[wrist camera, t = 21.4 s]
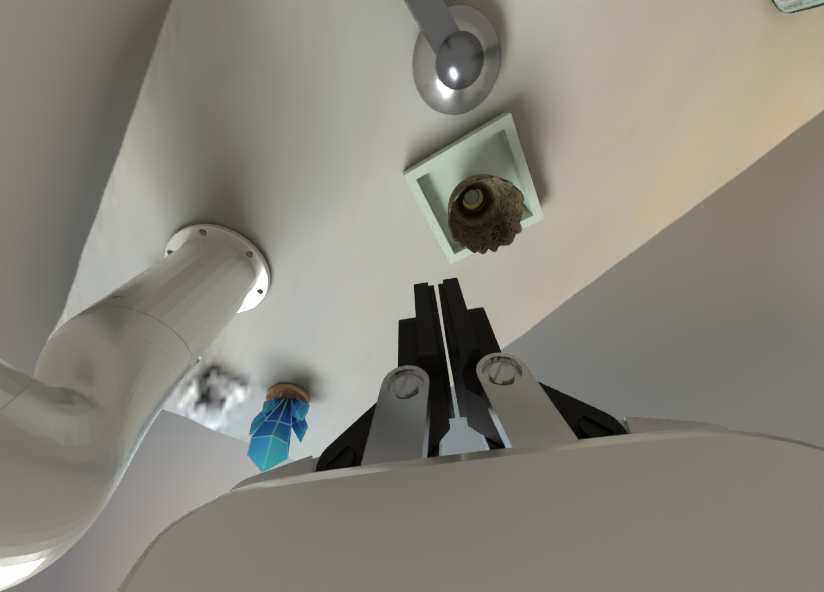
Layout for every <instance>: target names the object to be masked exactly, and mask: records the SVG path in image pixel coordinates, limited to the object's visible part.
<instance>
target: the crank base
mask: <svg viewBox="0 0 824 592" xmlns="http://www.w3.org/2000/svg"><path fill="white" fill-rule="evenodd" d="M448 9H449V10H450V12H451V14H452V16H453V18H454V20H455V22H456V24H457V26H458V27H459V29H460V31H468V32H470V33H472V34H474V35H475V36H476V37H477V38H478V39H479V41H480V43H481V45H482V48H483V52H484V63H483V68H482V71H481V73H480V75H479V77H478V79H477V80H476V81H475V82H474V83H473V84H472V85H471V86H469V87H467V88H465V89H461V90H451V89H448V88H446V87H445V86H444V85H443V84H442V83H441V82H440V80H439V79H438V77H437V74H436V69H435V60H436V55H435V53H434V51H433V50H432V48H431V46H430V45H429V43H428V41H427V39H426V38H425V36H424V34H423V33H422V31H421V33H420V35H419V37H418V39H417V42H416V46H415V49H414V54H413V63H412V69H413V78H414V82H415V85H416V88H417V91H418V92H419V94H420V96H421V98H422V99H423V100H424V101H425V103H426V104H427V105H429V106H430V107H431V108H432V109H434V110H436V111H438V112H441V113H444V114H450V115H458V114H463V113H466V112H469V111H470V110H472V109H474V108H476V107H477V106H478V105H479V104H481V103H482V102H483V101H484V100H485V98H486V97H487V96H488V94H489V93H490V92H491V90H492V88H493V86H494V84H495V82H496V79H497V76H498V73H499V68H500V59H501V55H500V44H499V40H498V36H497V33H496V31H495V29H494V27H493V25H492V23H491V22H490V20H489V19H488V18H487V17H486V16H485V15H484V14H483V13H482V12H480V11H479V10H477V9H475V8H473V7H470V6H466V5H454V6H449V7H448Z"/></svg>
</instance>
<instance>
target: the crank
mask: <svg viewBox="0 0 824 592" xmlns="http://www.w3.org/2000/svg"><path fill="white" fill-rule="evenodd" d="M404 2H405V3H406V5H407V7H408V8H409V10H410V12H411V14H412V15H413V17H414V19H415V21H416V22H417V24H418V26H419V27H420V29H421V31H422V33H423V34H424V36H425V38H426V39H427V41H428V43H429V45H430V46H431V48H432V50H433V51H434V53H435V55H436V60H435V69H436V74H437V77H438V79H439V80H440V82H441V83H442V84H443V85H444V86H445V87H446V88H448V89H451V90H461V89H465V88H467V87H469V86H471V85H472V84H473V83H474V82H475V81H476V80H477V79H478V77H479V75H480V73H481V71H482V68H483V63H484V52H483V48H482V45H481V43H480V41H479V39H478V38H477V37H476V36H475V35H474V34H472V33H470V32H468V31H460V29H459V27H458V26H457V24H456V22H455V20H454V18H453V16H452V14H451V12H450V10H449V9H448V7H447V5H446V3H445V1H444V0H404Z"/></svg>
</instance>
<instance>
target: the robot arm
mask: <svg viewBox="0 0 824 592" xmlns="http://www.w3.org/2000/svg"><path fill="white" fill-rule="evenodd" d="M270 281H271V277H270V270H269V267H268V265H267V262H266V260H265V259H264V257H263V255H262V254H261V252H260V251H259V250H258V249H257V248H256V246H255V245H253V244H252V243H251V242H250V241H249V240H248V239H246V238H245V237H243V236H242V235H240V234H239V233H237V232H235V231H233V230H231V229H229V228H226V227H222V226H219V225H214V224H195V225H191V226H188V227H186V228H183V229H181V230H180V231H178V232H177V233H175V234H174V235H173V236H172V237H171V238H170V239H169V241H168V243H167V245H166V247H165V253H164V258H163V259H162V260H160V261H159V262H157V263H156V264H154V265H153V266H151V267H150V268H148V269H147V270H145V271H143V272H142V273H140V274H139V275H137V276H136V277H134V278H133V279H131V280H130V281H128V282H127V283H125V284H124V285H122V286H120V287H119V288H117V289H116V290H114V291H113V292H111V293H110V294H108V295H107V296H105V297H104V298H102V299H101V300H99V301H97V302H96V303H94V304H93V305H91V306H90V307H88V308H87V309H85V310H84V311H82V312H81V313H79V314H78V315H76V316H75V317H73V318H72V319H70V320H68V321H67V322H66V323H65V324H63V325H62V326H61V327H60V328H59V329H58V330H57V331H56V332H55V333H54V334H53V335H52V336H51V338H50V339H49V341H48V342H47V344H46V345H45V347H44V349H43V351H42V353H41V355H40V357H39V359H38V362H37V365H36V369H35V372H34V376H33V377H30V376H28V375H26V374H25V373H23V372H21V371H20V370H18V369H16V368H15V367H13V366H12V365H10V364H8V363H7V362H5V361H3V360H2V359H0V591H2V590H4V589H7V588H10V587H12V586H14V585H17V584H19V583H21V582H23V581H25V580H27V579H28V578H30V577H32V576H34V575H35V574H37V573H38V572H40V571H42V570H43V569H45V568H46V567H47V566H49V565H50V564H52V563H53V562H54V561H56V560H57V559H58V558H59V557H60V556H62V555H63V554H64V553H65V552H66V551H68V549H70V548H71V547H72V546H73V545H74V544H75V543H76V542H77V541H78V540H79V539H80V538H81V536H83V534H84V533H85V532H86V531H87V530H88V529H89V528H90V526H91V525H92V524H93V523H94V521H95V520H96V519H97V517H98V516H99V514H100V513H101V512H102V510H103V509H104V507H105V506H106V505H107V503H108V501H109V500H110V498H111V497H112V495H113V493H114V491H115V490H116V488H117V486H118V485H119V483H120V481H121V479H122V477H123V475H124V473H125V471H126V469H127V467H128V465H129V463H130V462H131V460H132V457H133V456H134V454H135V452H136V450H137V448H138V446H139V444H140V443H141V441H142V439H143V437H144V436H145V434H146V433H147V431H148V429H149V428H150V426H151V424H152V423H153V421H154V420H155V418H156V417H157V415H158V414H159V413H160V411H161V410H162V408H163V407H164V406H165V404H166V403H167V402H168V400H169V399H170V398H171V396H172V395H173V393H174V392H175V391H176V390H177V388H178V387H179V386H180V384H181V383H182V382H183V381H184V379H185V378H186V377H187V375H188V374H189V373H190V372H191V370H192V369H193V368H194V367H195V365H196V364H197V363H198V362H199V360H200V359H201V358H202V356H203V355H204V354H205V353H206V351H207V350H208V349H209V348H210V346H211V345H212V344H213V342H214V341H215V340H216V339H217V337H218V336H219V335H220V334H221V332H222V331H223V330H224V328H225V327H226V326H227V325H228V323H229V322H230V321H231V320H232V318H233V317H234V316H235V314H236V313H237V312H242V311H247V310H249V309H251V308H254V307H255V306H256V305H258V304H259V303H260V302H261V301H262V300H263V299H264V297H265V296H266V294H267V293H268V290H269V287H270ZM438 288H439V295H440V302H441V309H442V316H443V323H444V330H445V337H446V343H447V349H448V354H449V360H450V365H451V371H452V376H453V381H454V387H455V392H456V398H457V403H458V408H459V414H460V417H465V416H466V418H467V423H468V426H470V427H471V428H473V429H474V430H476V431H477V432H479V433H480V434H481V436H482V440H483V443H484V446H485V448H486V451H479V452H471V453H463V454H454V455H447V456H442V443H441V439H442V438H443V437H444V436H445V434H446V433H447V432H448V431H449V429H450V424H449V418H455V414H454V408H453V401H452V394H451V387H450V381H449V374H448V367H447V361H446V354H445V348H444V342H443V336H442V330H441V325H440V319H439V313H438V307H437V302H436V296H435V290H434V285H431V286H428V282H426V283H420V284H414V295H415V310H416V317H415V318H409V319H402V320H399V333H398V368H396V369H394V370H392V371H391V372H389V373H388V374H387V376H386V377H385V378H384V380H383V382H382V385H381V389H380V393H379V396H378V400H377V402H376V403H375V404H374V405H373V406H372V407H371V408H370V409H369V410H368V411H367V412H365V413H364V414H363V415H362V416H361V417H360V418H359V419H358V420H357V421H356V422H354V423H353V424H352V425H351V426H350V427H349V428H348V429H347V430H346V431H345V432H344V433H342V434H341V435H340V436H339V437H338V438H337V439H336V440H335V441H334V442H333V443H332V444H330V445H329V446H328V447H327V448H326V449H325V451H324V452H323V453H322V454H321V456H320V457H317V458H313V457H312V456H309V457H306V458H303V459H300V460H298V461H295V462H292V463H289V464H287V465H283V466H281V467H278V468H275V469H272V470H269V471H267V472H264V473H261V474H258V475H255V476H252V477H250V478H248V479H245V480H243V481H241V482H240V483H238V484H237V485H236V486H235V487H234V488H233V489H232V490H230V491H229V492H227V493H224V494H222V495H219V496H217V497H215V498H213V499H211V500H209V501H207V502H205V503H203V504H201V505H199V506H197V507H195V508H194V509H192V510H191V511H189V512H187V513H186V514H184V515H183V516H181V517H180V518H178V519H177V520H175V521H174V522H172V523H171V524H170V525H169V526H168V527H167V528H165V529H164V530H163V531H162V532H161V533H160V534H159V535H158V536H157V537H156V538H155V539H154V541H153V542H152V543H151V544H150V545H149V546H148V548H147V549H146V550H145V551H144V553H143V554H142V555H141V556H140V558H139V559H138V561H137V562H136V564H135V565H134V566H133V567H132V569H131V570H130V572H129V573H128V575H127V576H126V578H125V580H124V581H123V582H122V584H121V585H120V587H119V588H118V590H117V591H116V592H824V447H820V446H817V445H814V444H810V443H806V442H803V441H799V440H795V439H791V438H786V437H781V436H775V435H770V434H765V433H760V432H750V431H740V430H729V429H727V428H725V427H722V426H720V425H717V424H712V423H707V422H696V421H682V420H669V419H655V418H641V417H627V416H625V417H624V420H616V419H615V418H614V417H612V416H611V415H608V414H607V413H605V412H603V411H601V410H599V409H596V408H595V407H592V406H590V405H588V404H586V403H584V402H581V401H579V400H577V399H575V398H573V397H570V396H568V395H566V394H564V393H562V392H559V391H557V390H555V389H553V388H551V387H549V386H546V385H544V384H542V383H540V382H537V380H536V379H535V377H534V376H533V374H532V373H531V372H530V370H529V369H528V367H527V366H526V364H525V363H524V362H523V361H522V360H521V359H520V358H518V357H516V356H514V355H511V354H508V353H501V350H500V348H499V345H498V343H497V340H496V338H495V335H494V333H493V330H492V328H491V325H490V323H489V320H488V317H487V315H486V312H485V310H484V308H483V307H481V308H474V309H468V310H467V308H466V304H465V301H464V298H463V295H462V292H461V288H460V285H459V282H458V279H457V278H451V279H445V280H443V284H438Z"/></svg>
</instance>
